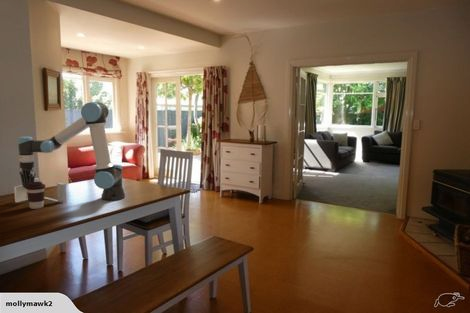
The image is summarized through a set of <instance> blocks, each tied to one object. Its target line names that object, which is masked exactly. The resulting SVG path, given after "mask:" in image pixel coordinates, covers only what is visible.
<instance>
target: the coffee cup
mask: <svg viewBox="0 0 470 313" xmlns="http://www.w3.org/2000/svg"><path fill="white" fill-rule="evenodd" d="M45 188H46V184H45V183H43V181H42V182H31V183H29V184H28V185H27V186H26V189H27V195H28V200H27V201H28V205H29V208H30V209H32V210H33V209H35V210H36V209H40V208H44V206H45V205H44V204H45V199H44V197H45Z"/></svg>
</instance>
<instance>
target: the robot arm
mask: <svg viewBox="0 0 470 313" xmlns="http://www.w3.org/2000/svg"><path fill="white" fill-rule="evenodd" d="M80 114H81V115H80V116H81V117H80V118H79V119H77V120H75V121H74V122H73V123H71V124H70V125H68V126H67V127H64V128H63V129H62V130H61V131H59V132H57V133H56V134H55V135H53V136H52V137H50V138H47V139H43V140H42V139H41V140H35V139H34V138H33V137H32V136H20V137H18V140H17V141H18V142H17V145H18V156H19V157H18V159H19V169H21V171H19V172H18V173H19V176H20V179H21V180H20V181H21V184H22V185H23V187H25V191H26V199H28V195H27V189H26V186H27V185H28V184H29V183H31V182H34V178H36V177H35V176H36V173H35V172H33V168H35V163H34V153H41V154H43V153H44V154H47V153H48V154H49V153H50V154H51V153H52V152H54V151H56V150H58V149H61V147H62V146H63V145H65V143H67V142H68V141H70V140H71V139H73V138H75V137H76V136H78V135H80V134H81V133H83V132H84V131H85V130H87V129H88V128H89V132H90V137H91V143H92V144H91V145H92V149H93V154H94V158H95V167H94V173H95V174H94V177H93V183H94V184H95V186H96V187H97V188H99V189H102V193H101V199H102V201H103V200H104V201H111V202H112V201H119V200H123V199H125V198H126V193H125V190H124V188H123V187H124V186H123V166H122V164H113V163H111V162H112V161H111V157H110V150H109V147H108V146H109V145H108V139H107V134H106V130H105V125H106V124H107V121H106V119H107V117H108V116H109V108H108V106H107V105H106V104H104V103H103V102H99V101H98V102H96V101H90V102H87V103H85V104H83V105H82V107H81V109H80Z"/></svg>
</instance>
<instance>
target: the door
mask: <svg viewBox="0 0 470 313" xmlns="http://www.w3.org/2000/svg"><path fill="white" fill-rule="evenodd" d="M39 182H42V183H43V181H42V180H40V181H39ZM13 189H14V202H15V203H21V202H25V201H28V199H26V191H25V187H23V185H21V184H20V185H16V186H13Z"/></svg>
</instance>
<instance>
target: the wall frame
mask: <svg viewBox="0 0 470 313" xmlns="http://www.w3.org/2000/svg"><path fill="white" fill-rule="evenodd" d="M39 181H41V178H38V177H37V178H36V177H35V178H34V182H39ZM56 189H57V192H56V193H57V199H55V198H51V197H47V196H44V200H45V199H46V200H49V201H53V202H57V203H62V204H65V203H66V202H67V189H66V183H63V182H58V183H56Z"/></svg>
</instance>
